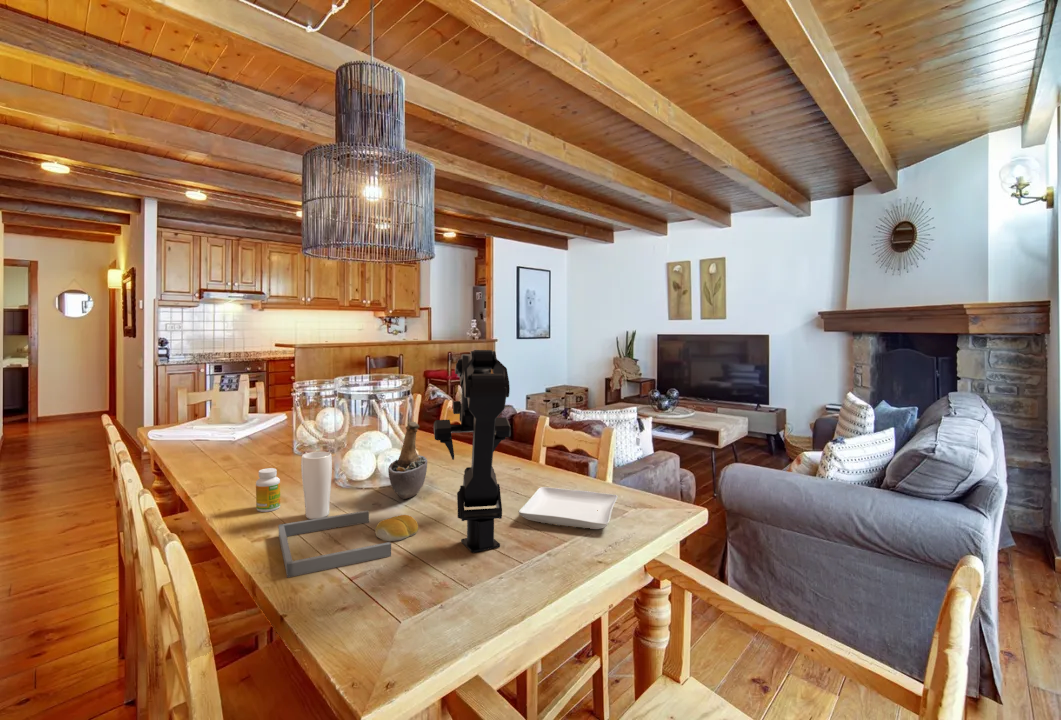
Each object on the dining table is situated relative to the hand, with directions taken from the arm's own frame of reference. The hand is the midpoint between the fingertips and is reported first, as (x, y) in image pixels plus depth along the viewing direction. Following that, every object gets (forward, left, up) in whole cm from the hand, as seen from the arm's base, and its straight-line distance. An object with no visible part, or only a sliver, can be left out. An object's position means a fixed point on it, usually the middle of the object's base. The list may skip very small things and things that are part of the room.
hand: (471, 457), depth 133 cm
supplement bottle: (+22, +45, -13) cm, 52 cm away
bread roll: (-8, +21, -13) cm, 26 cm away
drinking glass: (+11, +35, -13) cm, 39 cm away
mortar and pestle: (+17, +11, -13) cm, 24 cm away
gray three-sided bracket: (-8, +34, -12) cm, 38 cm away
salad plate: (-16, -20, -13) cm, 29 cm away
